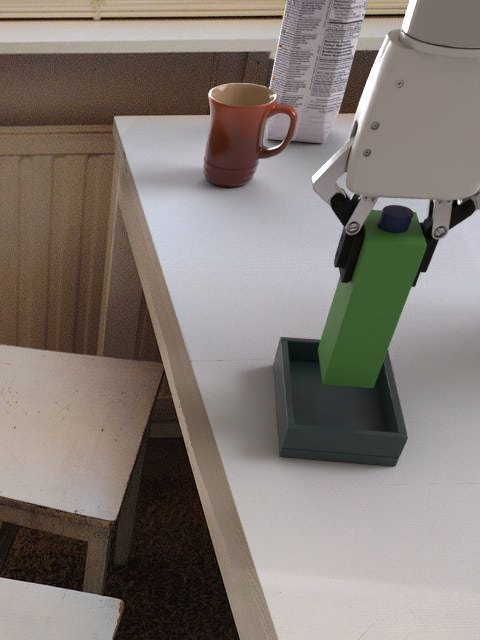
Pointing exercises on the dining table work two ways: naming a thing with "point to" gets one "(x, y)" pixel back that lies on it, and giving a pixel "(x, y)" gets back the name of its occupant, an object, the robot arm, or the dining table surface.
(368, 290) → the green drink carton
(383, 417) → the dark grey tray
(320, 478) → the dining table surface
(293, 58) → the juice carton
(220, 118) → the mug
